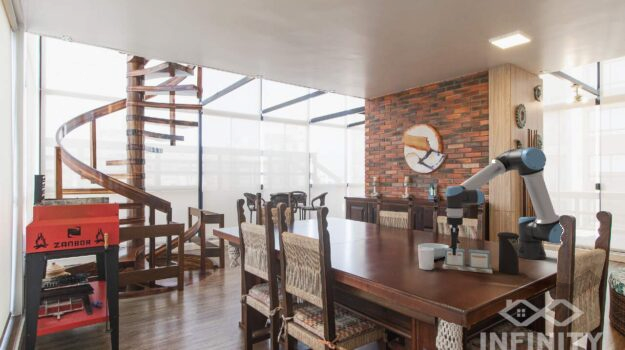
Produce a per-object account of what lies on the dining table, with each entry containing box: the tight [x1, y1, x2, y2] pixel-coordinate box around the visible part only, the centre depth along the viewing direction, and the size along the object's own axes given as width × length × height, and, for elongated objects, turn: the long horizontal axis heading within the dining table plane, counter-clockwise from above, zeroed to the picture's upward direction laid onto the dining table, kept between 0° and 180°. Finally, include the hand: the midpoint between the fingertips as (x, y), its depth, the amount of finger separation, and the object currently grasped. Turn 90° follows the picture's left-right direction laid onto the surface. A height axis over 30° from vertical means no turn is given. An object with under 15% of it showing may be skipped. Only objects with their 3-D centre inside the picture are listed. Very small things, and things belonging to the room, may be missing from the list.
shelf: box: [442, 260, 493, 274], centre depth 173 cm, size 22×10×2 cm, turn 65°
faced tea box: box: [468, 248, 491, 269], centre depth 171 cm, size 5×9×9 cm, turn 65°
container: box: [497, 231, 520, 276], centre depth 166 cm, size 9×9×20 cm
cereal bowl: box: [417, 242, 450, 260], centre depth 201 cm, size 17×17×7 cm
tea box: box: [444, 247, 466, 267], centre depth 176 cm, size 5×9×9 cm, turn 66°
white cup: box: [417, 247, 435, 271], centre depth 178 cm, size 8×8×10 cm
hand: (455, 258), depth 176 cm, fingers open, 13 cm apart
